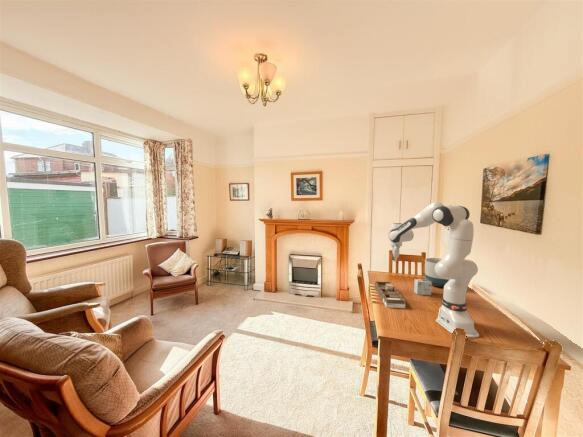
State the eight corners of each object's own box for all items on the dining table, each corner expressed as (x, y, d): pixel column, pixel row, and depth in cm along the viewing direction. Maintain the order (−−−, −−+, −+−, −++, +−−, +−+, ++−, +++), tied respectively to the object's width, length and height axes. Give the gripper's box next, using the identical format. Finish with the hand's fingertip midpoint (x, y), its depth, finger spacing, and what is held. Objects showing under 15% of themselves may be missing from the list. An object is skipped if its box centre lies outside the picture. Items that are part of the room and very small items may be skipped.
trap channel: (405, 308, 160) (405, 300, 160) (386, 307, 162) (386, 299, 161) (390, 288, 195) (390, 282, 194) (374, 287, 196) (375, 281, 196)
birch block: (393, 291, 182) (393, 286, 181) (387, 290, 182) (387, 285, 182) (391, 288, 187) (391, 283, 186) (385, 288, 187) (385, 283, 187)
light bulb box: (427, 291, 187) (428, 278, 186) (431, 295, 181) (432, 282, 180) (413, 291, 188) (414, 278, 187) (417, 294, 182) (417, 281, 181)
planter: (446, 292, 186) (448, 266, 184) (420, 284, 202) (421, 260, 200) (455, 285, 199) (456, 261, 197) (429, 279, 215) (430, 256, 213)
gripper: (401, 246, 174) (400, 264, 176) (399, 240, 193) (398, 256, 195) (392, 245, 176) (391, 263, 178) (391, 240, 195) (390, 256, 197)
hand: (395, 259), depth 187 cm, fingers open, 8 cm apart
